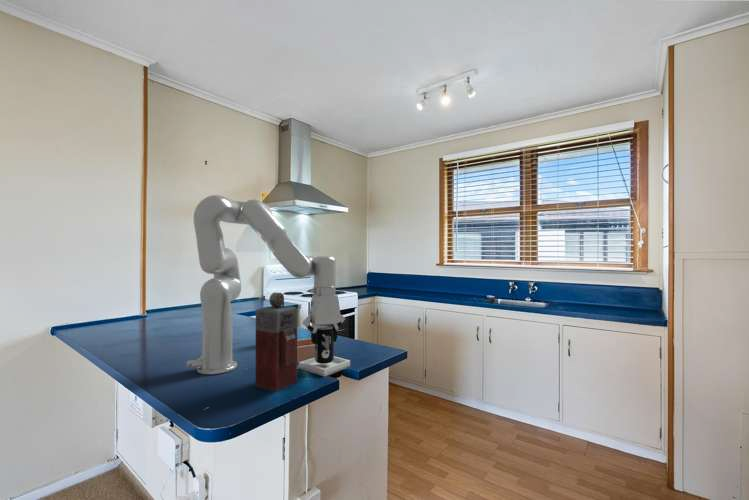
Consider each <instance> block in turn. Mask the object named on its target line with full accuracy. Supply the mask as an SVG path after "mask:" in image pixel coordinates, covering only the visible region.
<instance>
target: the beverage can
mask: <svg viewBox="0 0 749 500" xmlns="http://www.w3.org/2000/svg"><path fill="white" fill-rule="evenodd" d="M332 328H333V327H332V326H331V325H319V326H318V328H317V331H316V333H317V345H315V361H316V362H317V363H321V364H326V363H330V362H332V360H333V359H334V356H335V355H334V353H335V352H334V351H335V350H334V348H335V347H334V345H335V342H334V330H333V329H332Z"/></svg>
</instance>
